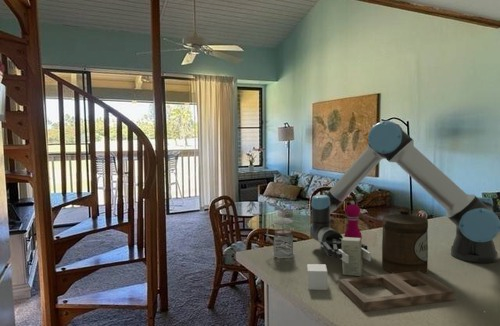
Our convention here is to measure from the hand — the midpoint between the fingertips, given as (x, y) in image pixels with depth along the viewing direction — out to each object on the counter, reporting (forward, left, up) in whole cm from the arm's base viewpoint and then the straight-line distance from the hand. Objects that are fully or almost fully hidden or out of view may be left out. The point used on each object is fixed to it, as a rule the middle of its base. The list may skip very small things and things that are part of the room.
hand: (358, 258), depth 116 cm
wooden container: (-20, -5, -8) cm, 22 cm away
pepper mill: (-14, -32, -7) cm, 36 cm away
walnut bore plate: (-5, +12, -7) cm, 15 cm away
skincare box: (0, -5, -7) cm, 9 cm away
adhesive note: (+15, +1, -8) cm, 17 cm away
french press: (+18, -31, -7) cm, 37 cm away
